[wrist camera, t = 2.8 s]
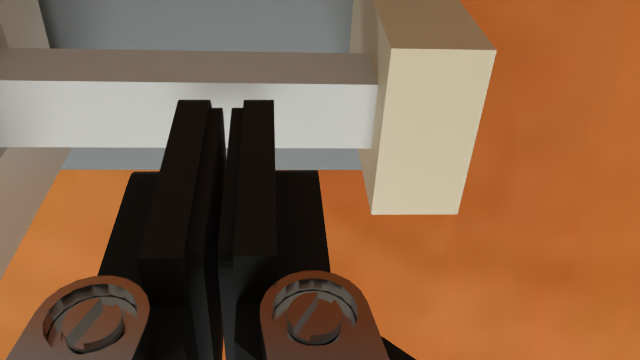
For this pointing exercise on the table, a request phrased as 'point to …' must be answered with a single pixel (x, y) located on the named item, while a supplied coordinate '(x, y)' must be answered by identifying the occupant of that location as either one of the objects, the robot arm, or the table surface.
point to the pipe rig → (262, 86)
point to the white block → (23, 162)
